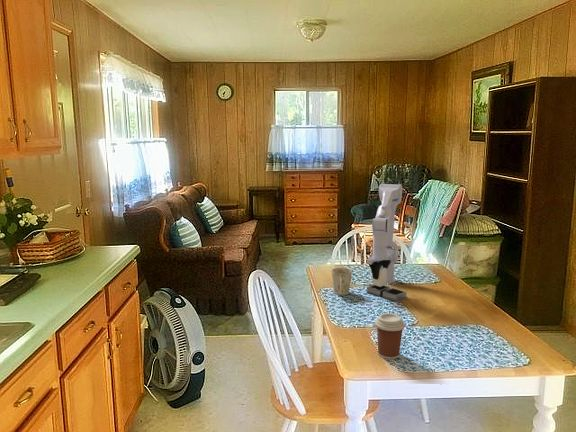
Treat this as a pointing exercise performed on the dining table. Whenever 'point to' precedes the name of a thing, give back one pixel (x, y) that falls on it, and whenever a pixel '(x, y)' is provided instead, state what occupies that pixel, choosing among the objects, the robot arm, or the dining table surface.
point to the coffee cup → (389, 335)
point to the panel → (386, 293)
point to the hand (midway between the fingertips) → (378, 277)
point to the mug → (341, 280)
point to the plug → (381, 277)
